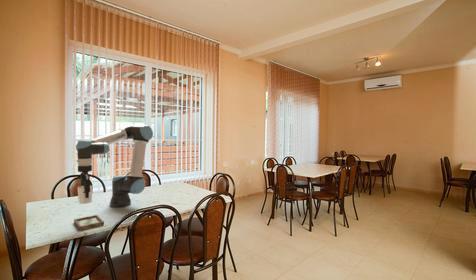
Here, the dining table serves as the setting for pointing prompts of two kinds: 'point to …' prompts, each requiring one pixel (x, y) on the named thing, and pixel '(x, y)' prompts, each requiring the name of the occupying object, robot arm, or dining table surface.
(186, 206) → the dining table surface
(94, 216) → the walnut tray
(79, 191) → the pale pink cup
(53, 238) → the dining table surface
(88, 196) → the robot arm
